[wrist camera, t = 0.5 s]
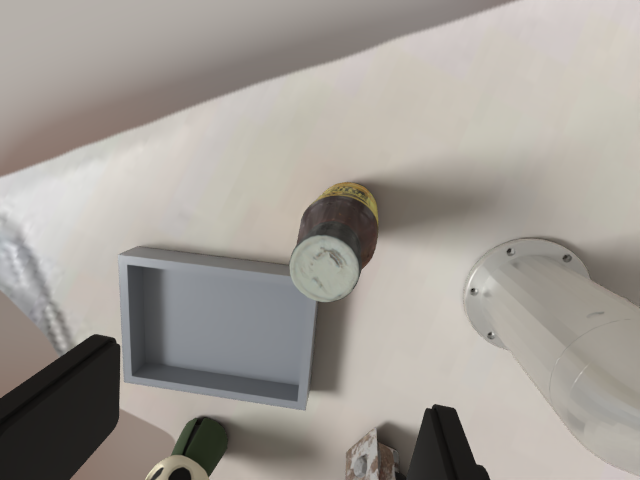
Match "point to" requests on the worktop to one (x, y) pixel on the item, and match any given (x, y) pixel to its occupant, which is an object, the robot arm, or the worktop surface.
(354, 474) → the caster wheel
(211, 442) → the character mug
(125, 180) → the worktop surface
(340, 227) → the sauce bottle
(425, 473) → the robot arm
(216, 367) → the tray
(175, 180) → the worktop surface
